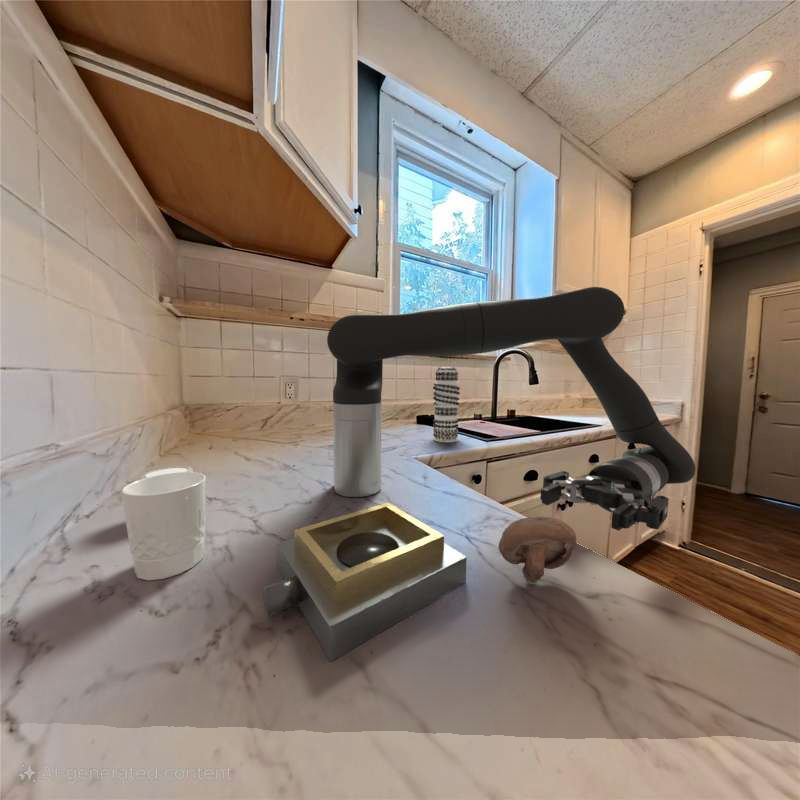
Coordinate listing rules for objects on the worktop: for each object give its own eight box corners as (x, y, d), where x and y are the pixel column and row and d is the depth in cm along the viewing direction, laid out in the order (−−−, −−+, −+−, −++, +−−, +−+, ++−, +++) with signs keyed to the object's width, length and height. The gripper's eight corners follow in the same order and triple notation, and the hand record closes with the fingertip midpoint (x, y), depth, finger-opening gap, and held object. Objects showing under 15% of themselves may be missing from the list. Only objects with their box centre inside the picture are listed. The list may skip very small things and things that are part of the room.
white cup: (164, 544, 42) (160, 471, 41) (222, 545, 41) (219, 472, 41) (108, 584, 34) (101, 494, 33) (179, 586, 34) (173, 496, 33)
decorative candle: (426, 439, 108) (427, 366, 105) (441, 435, 115) (442, 367, 112) (449, 443, 102) (451, 366, 100) (463, 439, 109) (465, 367, 106)
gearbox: (245, 568, 37) (244, 527, 36) (381, 522, 48) (381, 491, 48) (292, 684, 23) (290, 621, 23) (465, 582, 34) (467, 539, 34)
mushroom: (492, 587, 34) (495, 516, 33) (504, 558, 39) (506, 496, 38) (572, 615, 30) (577, 535, 29) (573, 578, 35) (577, 510, 34)
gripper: (578, 450, 55) (526, 466, 45) (686, 471, 43) (648, 498, 34) (575, 491, 55) (524, 516, 46) (681, 523, 44) (642, 564, 34)
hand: (576, 508), depth 40 cm, fingers open, 8 cm apart
